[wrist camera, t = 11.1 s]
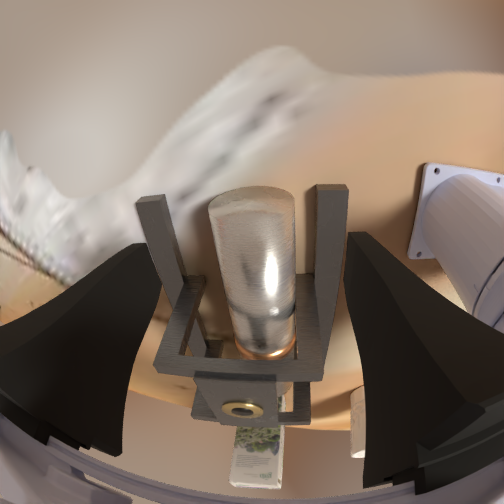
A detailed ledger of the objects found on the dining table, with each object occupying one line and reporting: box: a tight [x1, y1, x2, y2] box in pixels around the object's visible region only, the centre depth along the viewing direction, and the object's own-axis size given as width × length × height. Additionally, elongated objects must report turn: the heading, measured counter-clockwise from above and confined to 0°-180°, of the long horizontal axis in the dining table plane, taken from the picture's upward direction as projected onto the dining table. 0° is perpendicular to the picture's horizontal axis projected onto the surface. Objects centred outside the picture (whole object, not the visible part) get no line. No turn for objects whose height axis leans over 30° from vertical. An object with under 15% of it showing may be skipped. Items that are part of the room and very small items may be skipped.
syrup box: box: [229, 395, 286, 489], centre depth 29 cm, size 6×6×14 cm
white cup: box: [350, 386, 366, 458], centre depth 29 cm, size 8×8×10 cm
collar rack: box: [136, 184, 349, 428], centre depth 21 cm, size 14×24×10 cm, turn 5°
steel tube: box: [208, 186, 296, 398], centre depth 21 cm, size 20×5×5 cm, turn 6°
